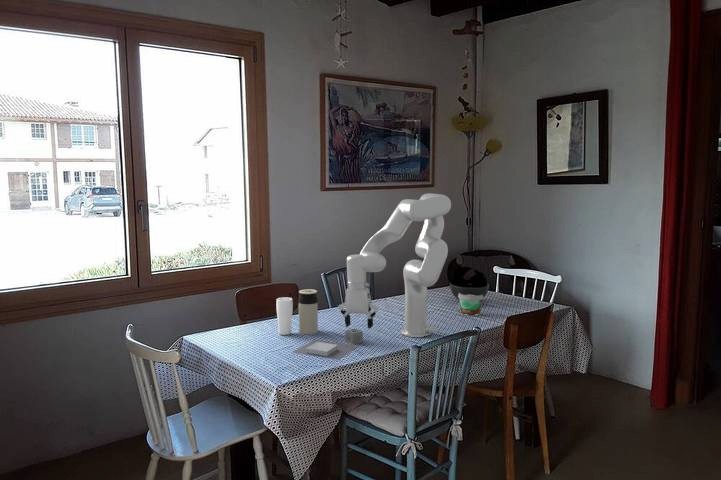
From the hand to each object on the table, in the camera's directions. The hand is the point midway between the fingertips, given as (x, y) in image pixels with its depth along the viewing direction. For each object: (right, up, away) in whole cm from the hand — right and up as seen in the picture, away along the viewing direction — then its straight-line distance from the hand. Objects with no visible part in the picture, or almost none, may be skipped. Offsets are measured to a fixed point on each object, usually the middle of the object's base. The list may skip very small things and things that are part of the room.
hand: (359, 326), depth 239 cm
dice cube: (-2, -7, -2) cm, 7 cm away
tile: (-12, -6, -10) cm, 17 cm away
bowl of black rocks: (+57, +2, +68) cm, 89 cm away
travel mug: (-22, -5, +13) cm, 25 cm away
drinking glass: (-31, -5, +10) cm, 33 cm away
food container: (+53, -1, +44) cm, 68 cm away
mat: (-13, -7, -11) cm, 18 cm away
